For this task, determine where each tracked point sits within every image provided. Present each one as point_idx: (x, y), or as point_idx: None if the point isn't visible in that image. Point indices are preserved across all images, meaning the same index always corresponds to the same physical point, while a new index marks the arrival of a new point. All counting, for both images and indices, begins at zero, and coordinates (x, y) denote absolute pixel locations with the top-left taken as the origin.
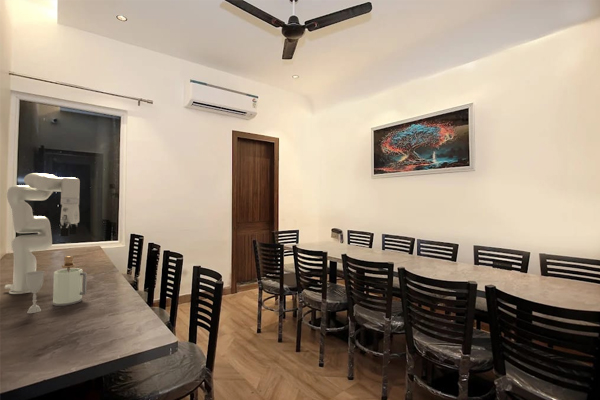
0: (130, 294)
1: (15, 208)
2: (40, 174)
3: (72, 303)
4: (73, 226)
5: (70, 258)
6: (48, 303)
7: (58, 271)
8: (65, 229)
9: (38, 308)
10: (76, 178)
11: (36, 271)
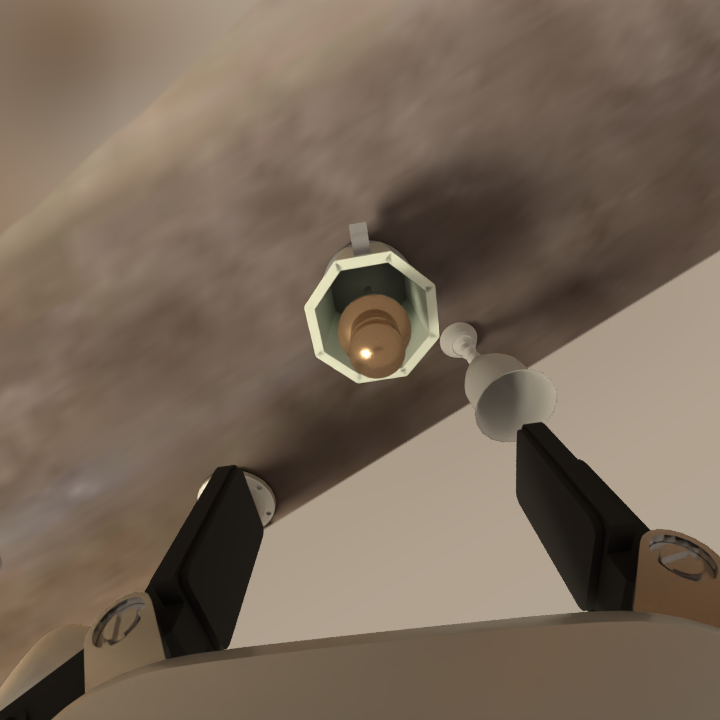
0: (260, 28)
1: None
2: None
3: (399, 252)
4: (194, 623)
5: (393, 328)
6: None
7: None
8: (639, 528)
9: (465, 329)
10: None
11: (477, 421)
